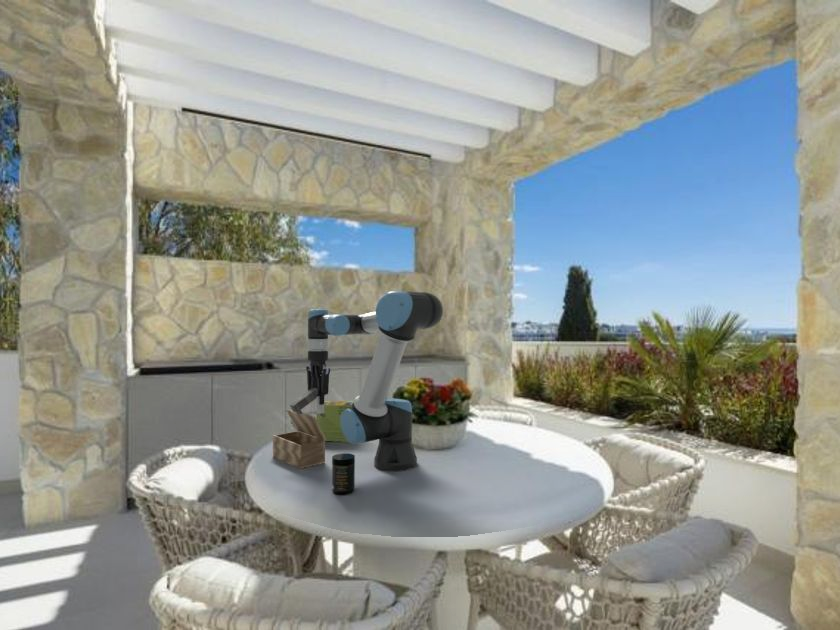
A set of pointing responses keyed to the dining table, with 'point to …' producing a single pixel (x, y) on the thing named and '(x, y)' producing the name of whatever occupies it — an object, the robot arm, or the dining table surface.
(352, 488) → the supplement container
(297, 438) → the wooden box
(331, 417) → the protein box
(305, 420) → the wooden stand with strip
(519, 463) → the dining table surface
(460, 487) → the dining table surface
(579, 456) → the dining table surface
